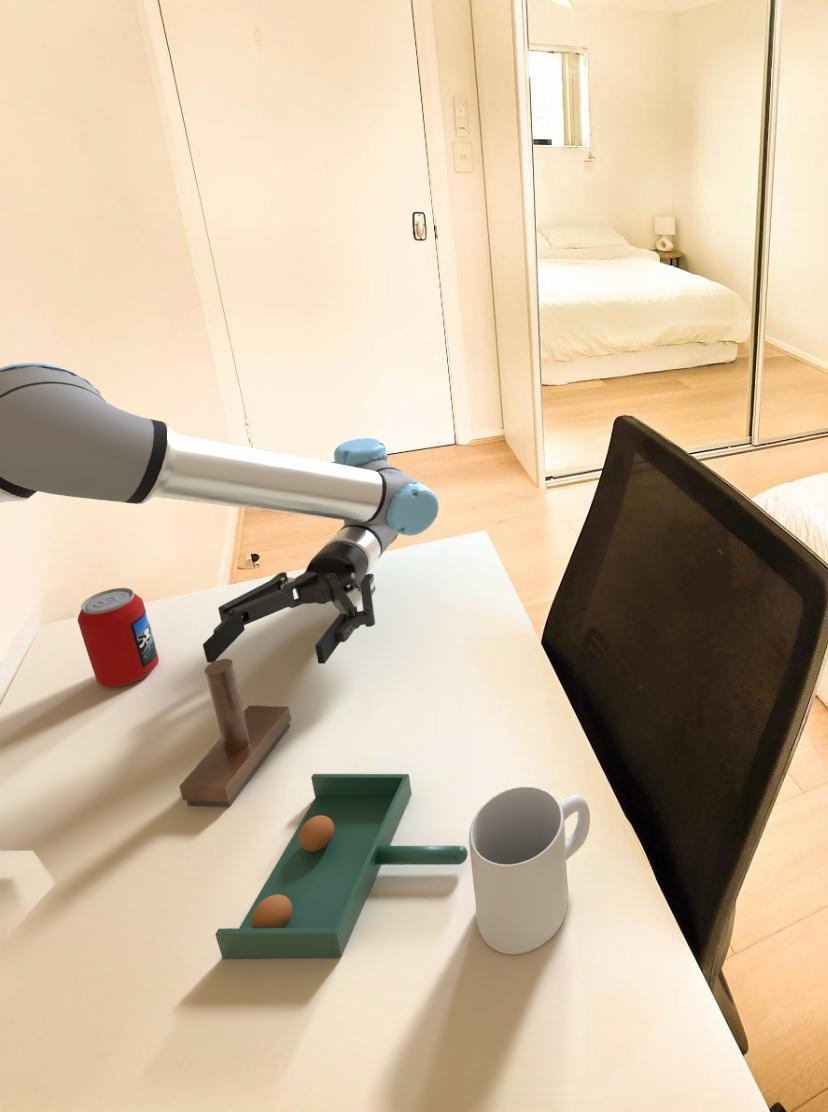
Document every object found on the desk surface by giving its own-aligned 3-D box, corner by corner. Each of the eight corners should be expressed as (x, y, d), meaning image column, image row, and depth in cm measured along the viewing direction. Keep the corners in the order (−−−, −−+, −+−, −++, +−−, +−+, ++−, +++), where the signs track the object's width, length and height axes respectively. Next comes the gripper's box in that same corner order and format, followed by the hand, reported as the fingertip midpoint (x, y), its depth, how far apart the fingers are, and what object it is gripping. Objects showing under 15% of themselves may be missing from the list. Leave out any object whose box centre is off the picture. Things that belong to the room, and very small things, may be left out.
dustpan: (222, 959, 61) (214, 934, 60) (317, 795, 77) (313, 773, 76) (441, 957, 62) (437, 932, 61) (490, 795, 78) (488, 773, 77)
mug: (507, 978, 60) (499, 888, 57) (460, 907, 66) (450, 822, 62) (614, 885, 69) (613, 801, 65) (564, 829, 74) (561, 750, 70)
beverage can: (169, 669, 95) (149, 595, 91) (109, 698, 90) (85, 621, 86) (147, 651, 99) (127, 579, 95) (89, 678, 93) (65, 603, 89)
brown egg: (294, 935, 63) (260, 948, 61) (273, 924, 65) (239, 936, 62) (303, 895, 64) (270, 906, 61) (282, 885, 66) (249, 896, 63)
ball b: (322, 861, 70) (290, 855, 70) (334, 830, 73) (303, 824, 72) (331, 842, 69) (297, 836, 68) (342, 812, 72) (310, 805, 71)
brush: (184, 807, 75) (155, 705, 71) (253, 724, 87) (231, 631, 82) (230, 808, 75) (203, 706, 71) (292, 725, 87) (273, 632, 82)
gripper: (428, 584, 107) (369, 679, 87) (265, 582, 106) (167, 678, 86) (423, 541, 104) (362, 629, 84) (256, 539, 103) (153, 627, 83)
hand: (263, 654), depth 85 cm, fingers open, 13 cm apart
